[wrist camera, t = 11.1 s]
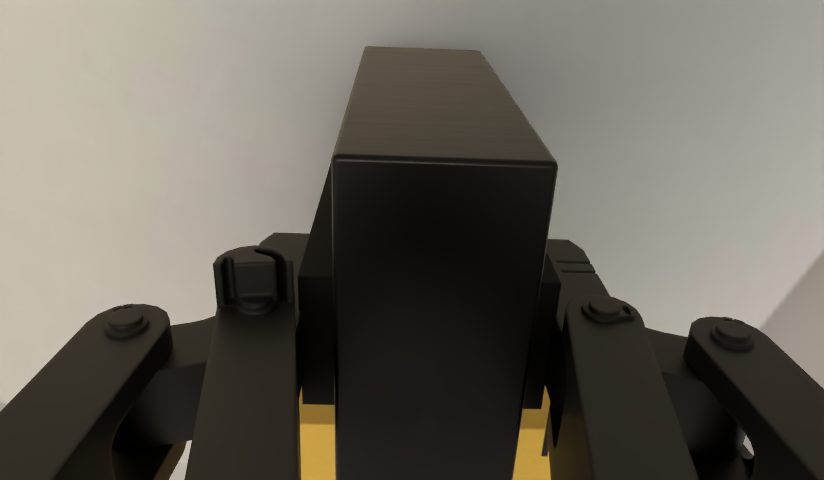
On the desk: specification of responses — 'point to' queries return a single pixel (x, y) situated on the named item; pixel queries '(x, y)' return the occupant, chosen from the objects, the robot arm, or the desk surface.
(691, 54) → the desk surface
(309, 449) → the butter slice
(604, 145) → the desk surface
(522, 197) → the black and grey bar
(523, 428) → the butter
